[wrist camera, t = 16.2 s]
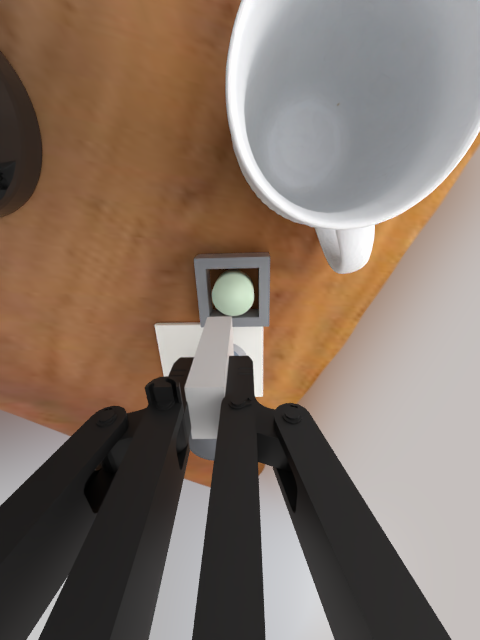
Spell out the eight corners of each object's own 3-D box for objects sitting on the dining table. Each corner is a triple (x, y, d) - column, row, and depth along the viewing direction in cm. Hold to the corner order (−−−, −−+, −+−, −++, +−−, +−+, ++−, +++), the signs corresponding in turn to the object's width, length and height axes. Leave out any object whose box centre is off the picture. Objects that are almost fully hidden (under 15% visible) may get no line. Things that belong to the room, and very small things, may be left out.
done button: (213, 269, 26) (210, 276, 24) (253, 268, 26) (253, 275, 24) (216, 306, 28) (213, 316, 25) (253, 306, 28) (254, 315, 25)
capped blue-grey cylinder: (208, 378, 31) (189, 460, 21) (205, 348, 30) (183, 421, 20) (243, 378, 31) (241, 460, 21) (242, 347, 30) (238, 421, 19)
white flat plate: (156, 323, 29) (154, 325, 29) (262, 321, 29) (263, 323, 28) (168, 393, 33) (167, 397, 33) (262, 393, 33) (262, 397, 32)
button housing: (198, 254, 26) (193, 258, 24) (268, 252, 26) (270, 256, 24) (204, 318, 29) (200, 327, 27) (267, 317, 29) (269, 326, 26)
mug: (380, 236, 25) (502, 265, 13) (270, 272, 27) (287, 327, 15) (355, 38, 19) (529, -231, 7) (218, 100, 21) (177, -37, 9)
